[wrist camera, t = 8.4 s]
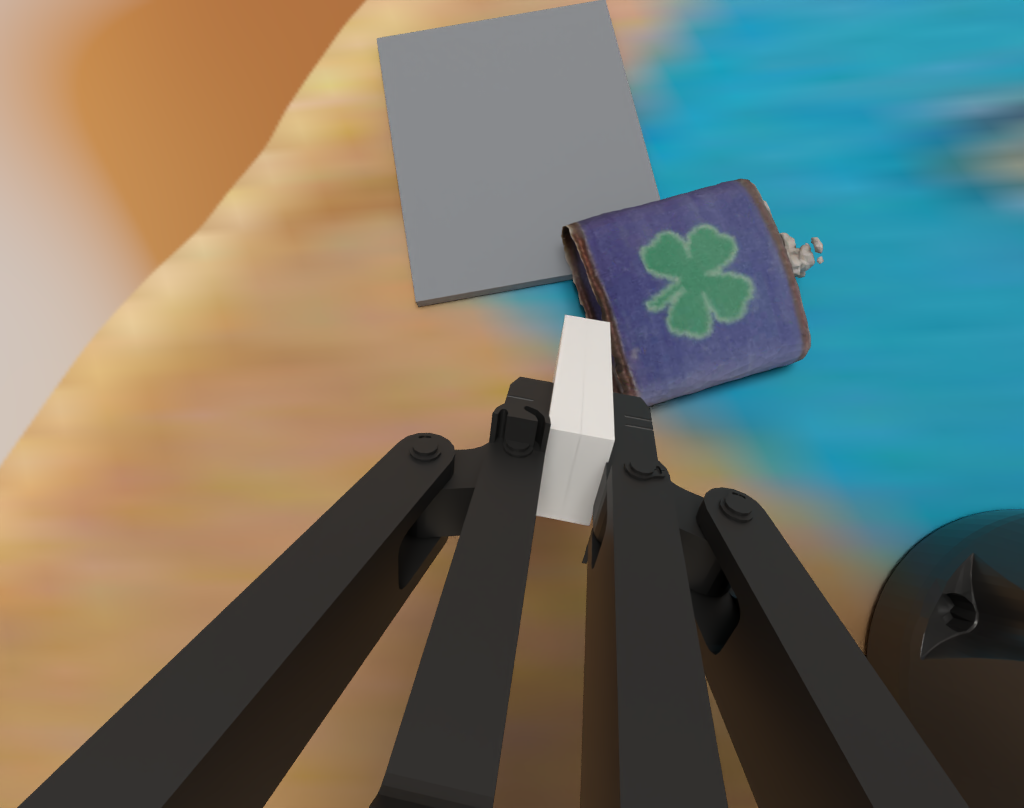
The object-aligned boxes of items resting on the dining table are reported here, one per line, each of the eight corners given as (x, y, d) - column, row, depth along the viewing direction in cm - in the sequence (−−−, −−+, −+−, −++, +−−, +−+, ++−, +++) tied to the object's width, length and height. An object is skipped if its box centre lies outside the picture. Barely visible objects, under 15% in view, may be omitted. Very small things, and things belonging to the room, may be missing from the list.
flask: (615, 417, 23) (826, 354, 24) (630, 411, 20) (870, 339, 21) (557, 239, 24) (761, 181, 25) (563, 209, 21) (794, 144, 22)
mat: (672, 261, 25) (675, 255, 24) (418, 306, 24) (415, 301, 24) (603, 10, 28) (605, -1, 27) (379, 48, 28) (376, 38, 27)
